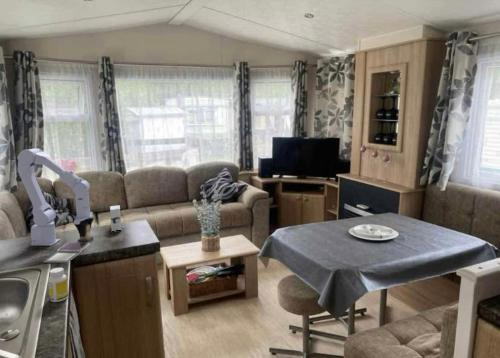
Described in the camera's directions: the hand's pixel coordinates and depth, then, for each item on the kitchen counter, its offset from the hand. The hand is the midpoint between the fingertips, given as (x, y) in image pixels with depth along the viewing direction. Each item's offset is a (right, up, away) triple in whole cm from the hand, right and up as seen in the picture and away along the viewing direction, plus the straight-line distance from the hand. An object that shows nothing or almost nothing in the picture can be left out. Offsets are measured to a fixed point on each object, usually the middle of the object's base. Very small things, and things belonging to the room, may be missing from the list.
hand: (85, 234), depth 173 cm
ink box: (+7, 0, +20) cm, 21 cm away
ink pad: (-1, -5, -8) cm, 10 cm away
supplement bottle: (+15, -13, -53) cm, 56 cm away
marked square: (-1, -7, -19) cm, 20 cm away
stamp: (0, -3, +1) cm, 3 cm away
